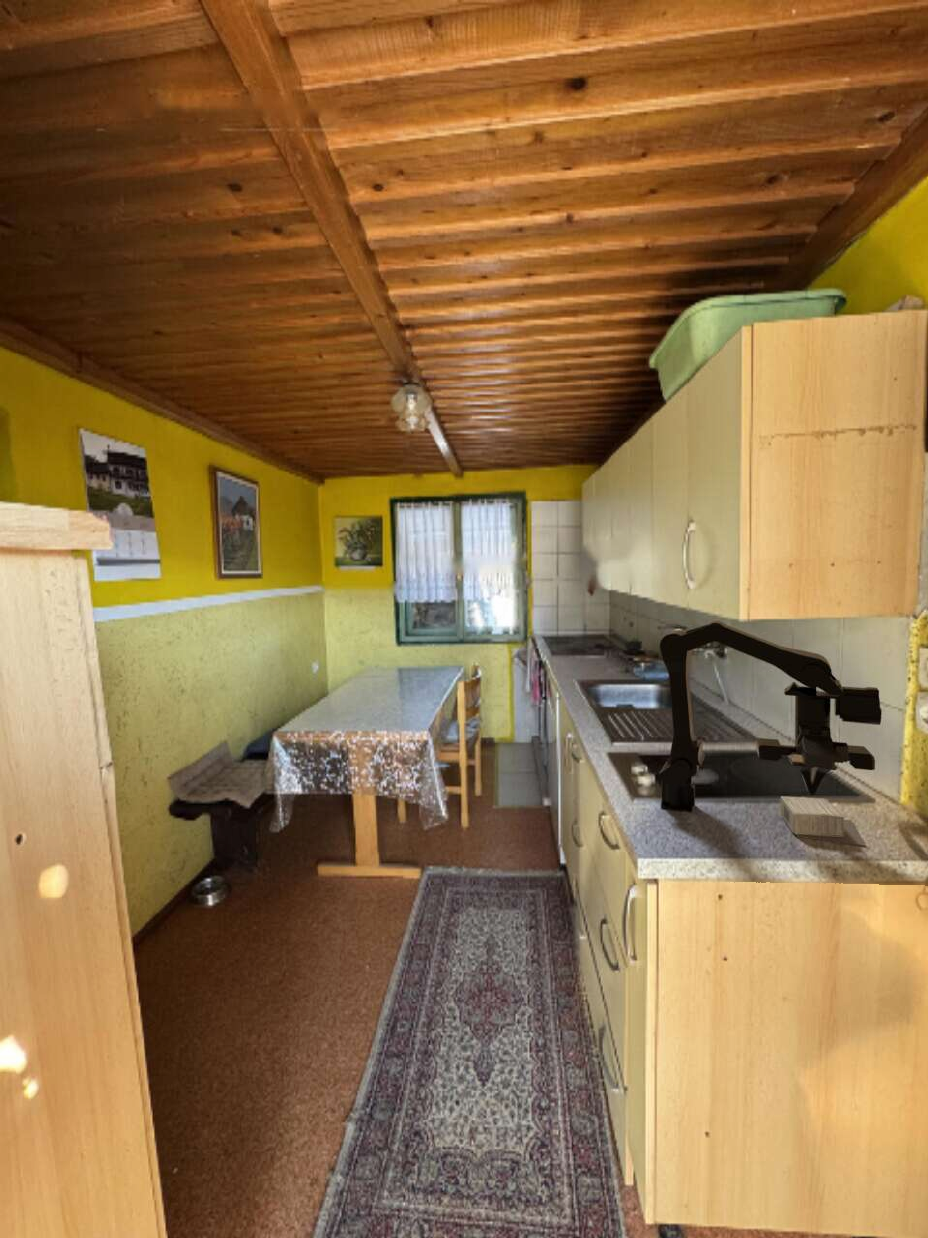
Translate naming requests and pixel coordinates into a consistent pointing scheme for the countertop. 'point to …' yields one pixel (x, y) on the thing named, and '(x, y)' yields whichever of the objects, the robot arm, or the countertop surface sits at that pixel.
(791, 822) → the wooden block
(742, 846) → the countertop surface
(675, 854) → the countertop surface
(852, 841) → the mat
